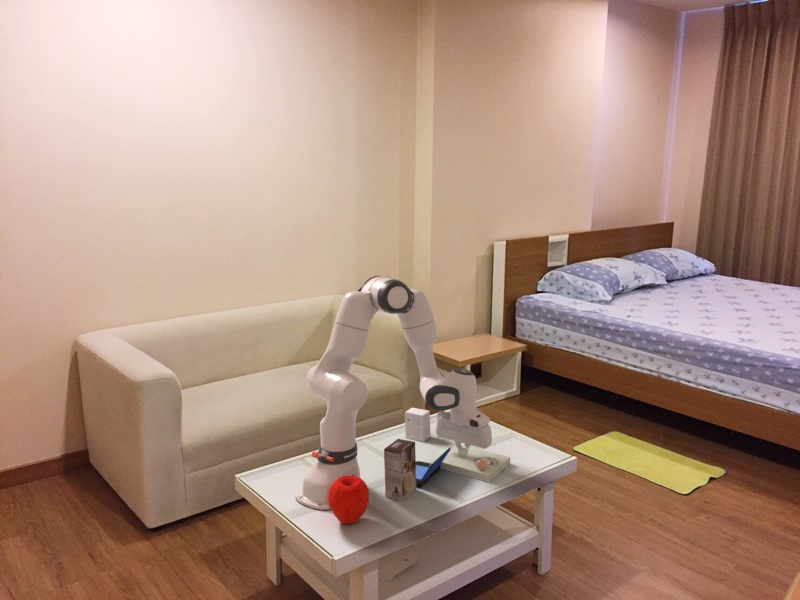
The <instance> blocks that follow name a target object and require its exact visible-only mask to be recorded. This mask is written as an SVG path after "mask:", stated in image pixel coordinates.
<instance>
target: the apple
mask: <svg viewBox="0 0 800 600" xmlns="http://www.w3.org/2000/svg"><path fill="white" fill-rule="evenodd" d="M369 498H370V493H369V488H368V485H367V483H366V482H365V480H363V479H362V478H359V477H356V476H343V477H340V478H338V479H336V480H335V481H334V482H333V484H332V485H331V487H330V489H329V494H328V503H329V506H330V508H331V509H330V510H331V511H332V513H333V515H334V517H335V518H336V519H337V521H338V522H340V523H342V524H345V525H346V524H354V523H357V522H358V521H359V520H361V518H362V516H363V515H364V514H365V512H366V510H367V508H368V506H369V501H370V499H369Z"/></svg>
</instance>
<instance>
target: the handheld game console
mask: <svg viewBox="0 0 800 600" xmlns="http://www.w3.org/2000/svg"><path fill="white" fill-rule="evenodd" d="M450 450H452V449H451V447H448V448H447V449H446V450H445V451H444V452H443V453H442V454H440V455H439V456H438V458H436V460H434V461H433V462H432V463H430V462H427V461H426V462H424V461H421V460H417V461H416V489H422V487H423V486H424V485H425V484H426V483H427V482H428V481H429V479H430V478H432V477H433V476H434V475H435V474H436V473H438V471H440V470H441V469H440V468H441V467H440V464H441V463H442V462H443V460H444V459H445V457H446V456H447V454H448V453H449V451H450Z"/></svg>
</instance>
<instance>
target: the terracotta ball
mask: <svg viewBox="0 0 800 600" xmlns="http://www.w3.org/2000/svg"><path fill="white" fill-rule="evenodd" d="M476 466H477V468H478V469H480V470H484V469H485V468H486V467H487V463H486V461H485V460H484V459H479V460H478V461H477V462H476Z"/></svg>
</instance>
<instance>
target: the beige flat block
mask: <svg viewBox="0 0 800 600" xmlns="http://www.w3.org/2000/svg"><path fill="white" fill-rule="evenodd" d="M461 446H462V448H466V446H465V444H461ZM479 459H488V460H489V461H490V462H491V465H487V467H486V468H485V469H484V470H480V469H478V468H477V466H476V462H477V461H478V460H479ZM509 465H511V457H510V456H507V455H504V454H499V453H496V452H493V451H492V452H491V451H487V450H484V449H480V448H477V447H472V446H470V447H469V449H468V454H467V455H463V454H459V453H458V448H457V446H456V445H455V446H454V447H453V448H452V449H450V451H449V453H448V454H447V456H446V457H445V459H444V460H443V462H442V463H441V464H440V467H441V468H440V470H444V471H448V472H450V473H454V474H458V475H461V476H464V477H468V478H471V479H476V480H479V481H482V482H486V483H490V482H491V481H492V480H494V479H495V478H496V477H498V475H499V474H500V473H502V472H503V471H504V470H505V469H507V467H508V466H509ZM504 468H505V469H504ZM503 469H504V470H503ZM502 470H503V471H502ZM501 471H502V472H501Z"/></svg>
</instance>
